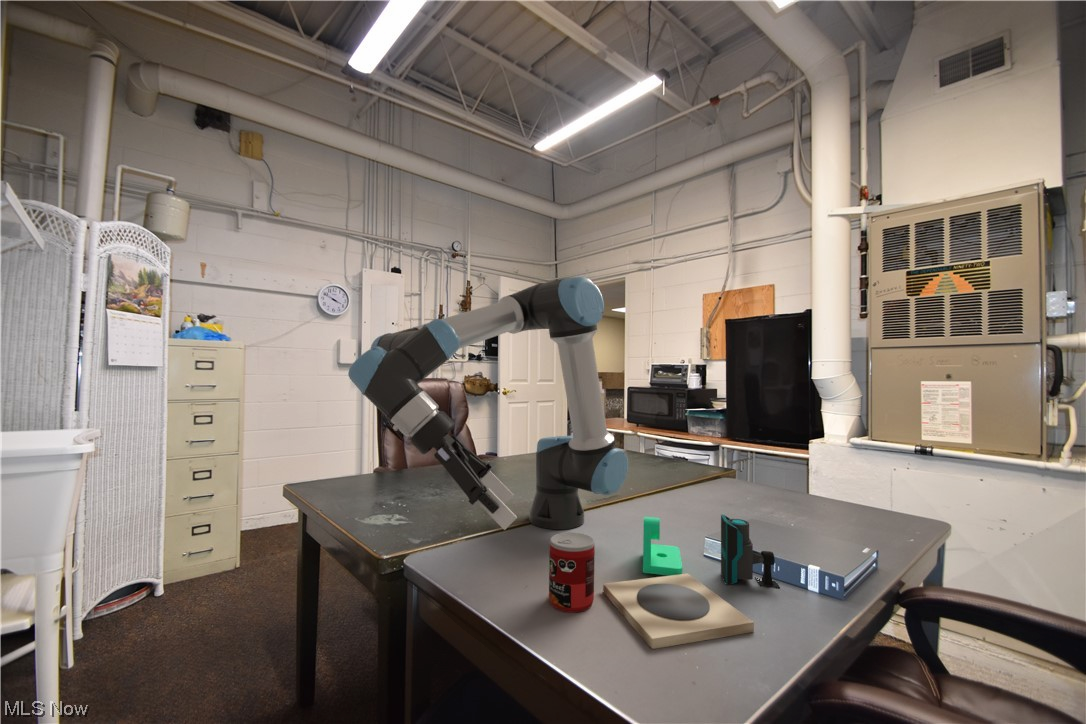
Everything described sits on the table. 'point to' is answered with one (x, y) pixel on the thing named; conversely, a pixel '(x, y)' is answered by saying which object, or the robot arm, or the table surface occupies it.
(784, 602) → the table surface
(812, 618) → the table surface
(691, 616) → the wooden square board
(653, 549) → the camera mount
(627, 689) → the table surface
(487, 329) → the robot arm
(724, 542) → the surveillance camera
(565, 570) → the canned food
